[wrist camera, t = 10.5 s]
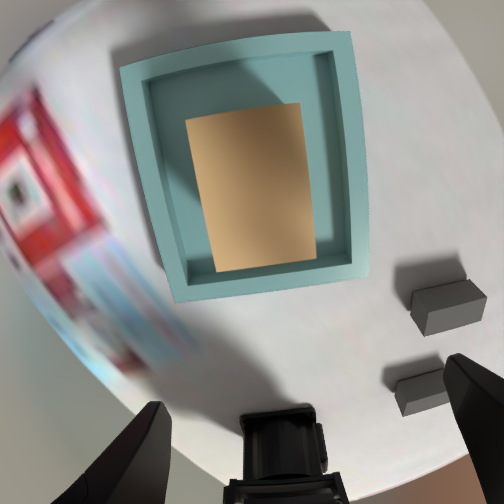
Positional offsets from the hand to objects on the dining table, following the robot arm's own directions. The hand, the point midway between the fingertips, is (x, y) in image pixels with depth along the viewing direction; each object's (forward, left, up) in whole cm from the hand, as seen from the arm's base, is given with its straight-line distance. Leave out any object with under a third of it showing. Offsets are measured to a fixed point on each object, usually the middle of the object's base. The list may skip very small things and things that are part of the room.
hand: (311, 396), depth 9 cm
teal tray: (-1, +5, -11) cm, 12 cm away
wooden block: (-1, +5, -10) cm, 11 cm away
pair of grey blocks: (+11, -10, -11) cm, 19 cm away
